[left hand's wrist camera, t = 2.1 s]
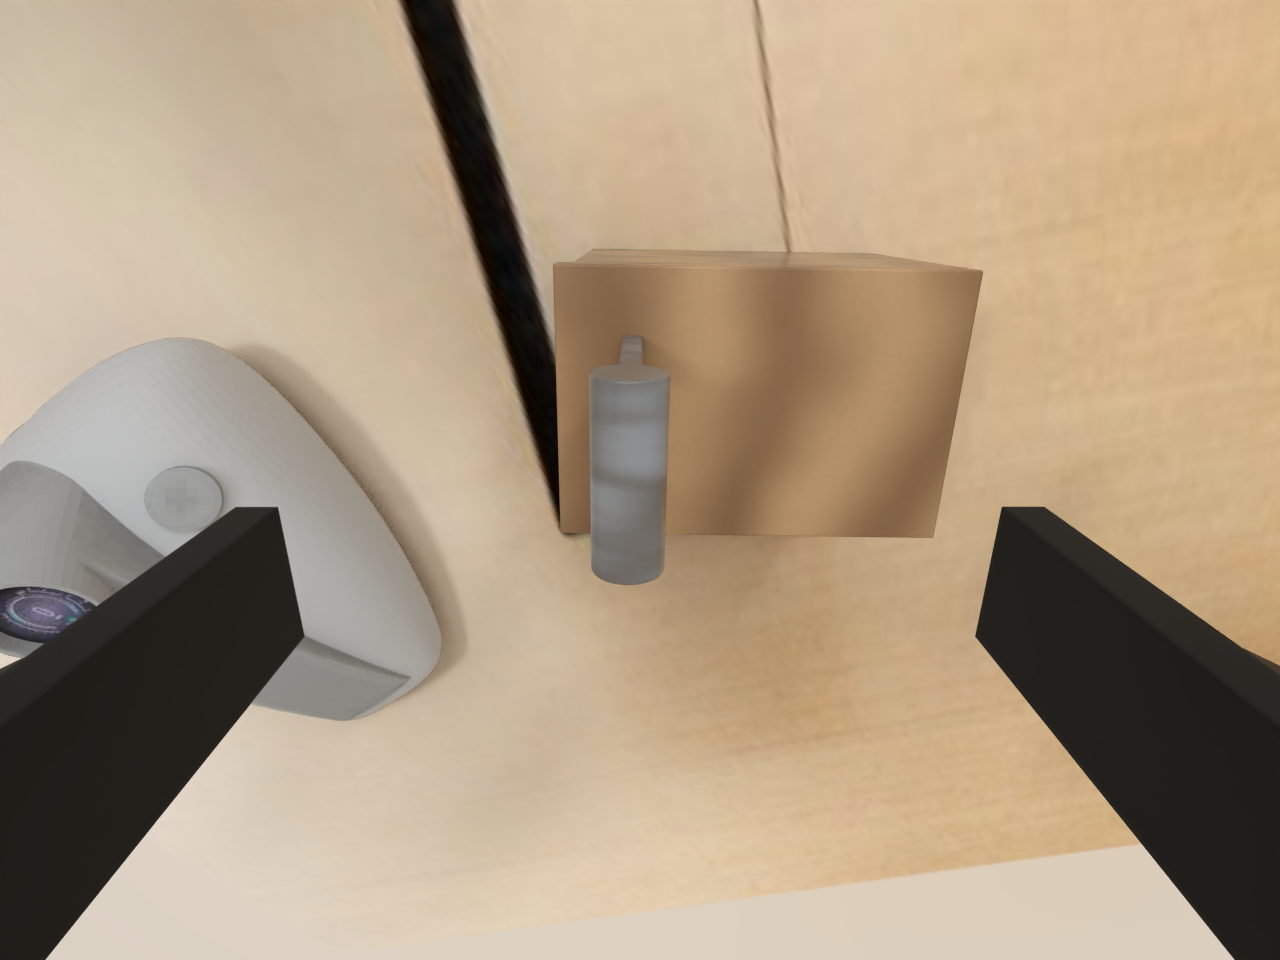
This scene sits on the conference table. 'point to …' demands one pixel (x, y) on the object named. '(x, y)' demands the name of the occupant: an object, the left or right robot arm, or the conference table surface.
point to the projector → (205, 518)
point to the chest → (753, 258)
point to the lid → (753, 402)
